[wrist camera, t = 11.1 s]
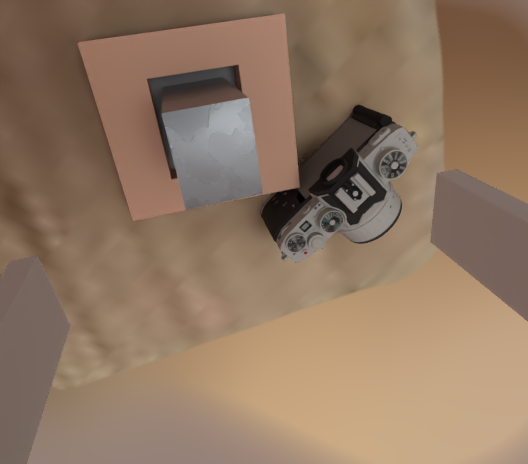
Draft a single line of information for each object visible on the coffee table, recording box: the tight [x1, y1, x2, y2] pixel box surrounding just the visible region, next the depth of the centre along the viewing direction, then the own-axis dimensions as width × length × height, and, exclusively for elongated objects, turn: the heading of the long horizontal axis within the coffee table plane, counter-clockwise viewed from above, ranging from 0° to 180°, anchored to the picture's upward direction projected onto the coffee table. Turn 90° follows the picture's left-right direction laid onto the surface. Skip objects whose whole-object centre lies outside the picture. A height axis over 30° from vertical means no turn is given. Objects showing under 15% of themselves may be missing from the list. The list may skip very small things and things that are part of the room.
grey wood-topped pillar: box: [161, 77, 263, 210], centre depth 29 cm, size 6×5×12 cm
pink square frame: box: [77, 13, 300, 221], centre depth 34 cm, size 14×15×4 cm
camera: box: [260, 105, 418, 263], centre depth 36 cm, size 16×9×10 cm, turn 135°
